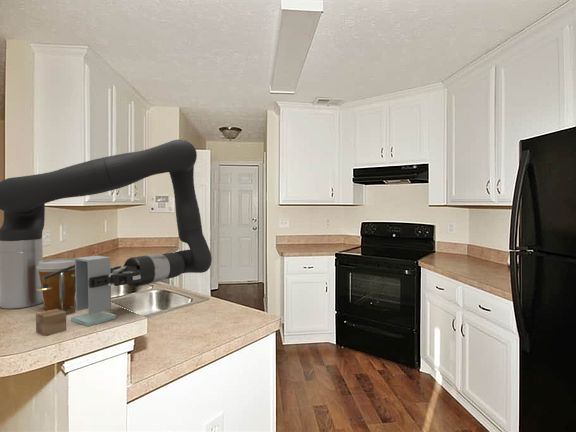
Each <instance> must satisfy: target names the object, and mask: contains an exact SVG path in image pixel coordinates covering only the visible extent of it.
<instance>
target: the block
mask: <svg viewBox="0 0 576 432" xmlns="http://www.w3.org/2000/svg"><path fill="white" fill-rule="evenodd" d="M65 331H67V315H66V312H65V311H62V310H59V309H54V310H46V311H45V310H44V311H40V312H36V313H35V332H36V333H37V334H38V335H39V334H40V335H41V336H44V337H46V336H47V337H48V336H51V335H54V334H58V333H62V332H65Z"/></svg>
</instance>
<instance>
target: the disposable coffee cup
mask: <svg viewBox="0 0 576 432" xmlns="http://www.w3.org/2000/svg"><path fill="white" fill-rule="evenodd" d="M75 258H76V257H75ZM75 258H73V257H71V258H70V257H65V258H61V257H60V258H50V259H44V260H43V261H40V262H39V263H38V266H37V267H36V268H37V269H38V271H39V276H40V281H41V284H44V279H43V277H44V276H46V275H49V274H51V273H54V272H57V271H59V270H62V269H64V268H67V267H69V266H72V265H74V264H75ZM71 274H75V268H72V269H70V270H67V271H65V272H64V300H65V306H68V307H71V308H73V307H74V306H75V301H76V284H74V277H72V276H71ZM45 283H47V284H48V287H52V289H50V290H45V291H42V293H43V303H44V309H45V310H46V311H49V310H52V309H56V308H60V294H59V274H57V275H55V276H52V277H50V278H48V279H45Z"/></svg>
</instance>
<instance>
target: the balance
mask: <svg viewBox="0 0 576 432" xmlns="http://www.w3.org/2000/svg"><path fill="white" fill-rule="evenodd" d="M72 268H75V264H74V265H72V266H69V267H67V268H64V269H62V270H59V271H57V272H54V273H51V274H49V275H46V276H44V277H43V279H44V284H41V287H40V288H37V289H36V290H37V291H45V290H50V289H52V287H48V284H47V283H45V279H48V278H50V277H52V276H55V275H57V274H59V294H60V308H56V309H59V310H62V311H65V312H66V316H67V315H73V314H75V313H76V307H68V306H65V300H64V272H65V271H67V270H70V269H72ZM74 275H75V274H71V276H72V277H74ZM52 310H54V309H52Z"/></svg>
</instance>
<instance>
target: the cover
mask: <svg viewBox="0 0 576 432" xmlns="http://www.w3.org/2000/svg"><path fill="white" fill-rule="evenodd" d="M110 267H111V257H110V256H103V255H90V256H83V257H75V278H76V292H75V312H78V311H82V310H85V309H86V310H87V309H88V313H89V315H90V314H94V313H98V312H102V311H104V312H106V311H109V310H112V285H111V286H108V285H105V286H100V287H95V288H90V287H89V284H88V280H89V278H92V277H97V276H103V275H106V277H107V274H111V269H110Z"/></svg>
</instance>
